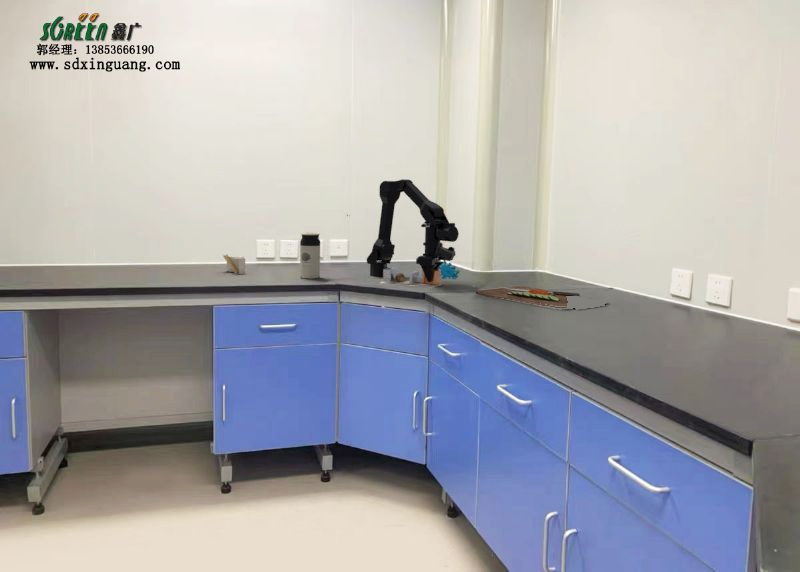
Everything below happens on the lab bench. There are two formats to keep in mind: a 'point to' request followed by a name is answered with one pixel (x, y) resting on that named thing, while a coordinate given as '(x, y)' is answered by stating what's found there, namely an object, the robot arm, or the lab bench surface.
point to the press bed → (406, 282)
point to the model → (235, 264)
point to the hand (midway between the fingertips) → (431, 281)
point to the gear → (448, 271)
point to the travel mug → (310, 256)
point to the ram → (434, 281)
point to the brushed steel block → (390, 274)
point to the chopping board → (529, 295)
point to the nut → (400, 277)
